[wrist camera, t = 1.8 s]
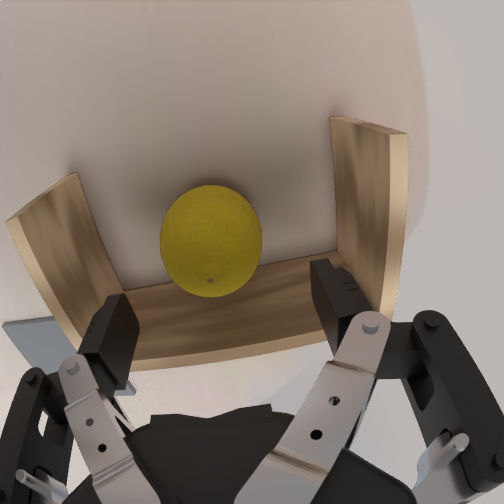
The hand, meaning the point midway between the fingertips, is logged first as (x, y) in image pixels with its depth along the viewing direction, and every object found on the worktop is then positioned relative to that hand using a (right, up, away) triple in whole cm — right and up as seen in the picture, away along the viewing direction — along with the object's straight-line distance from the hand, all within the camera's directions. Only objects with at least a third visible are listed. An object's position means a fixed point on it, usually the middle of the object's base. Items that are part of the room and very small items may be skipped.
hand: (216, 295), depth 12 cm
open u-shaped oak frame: (-1, +4, +8) cm, 9 cm away
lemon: (-1, +5, +8) cm, 9 cm away
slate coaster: (-18, -10, +13) cm, 25 cm away
